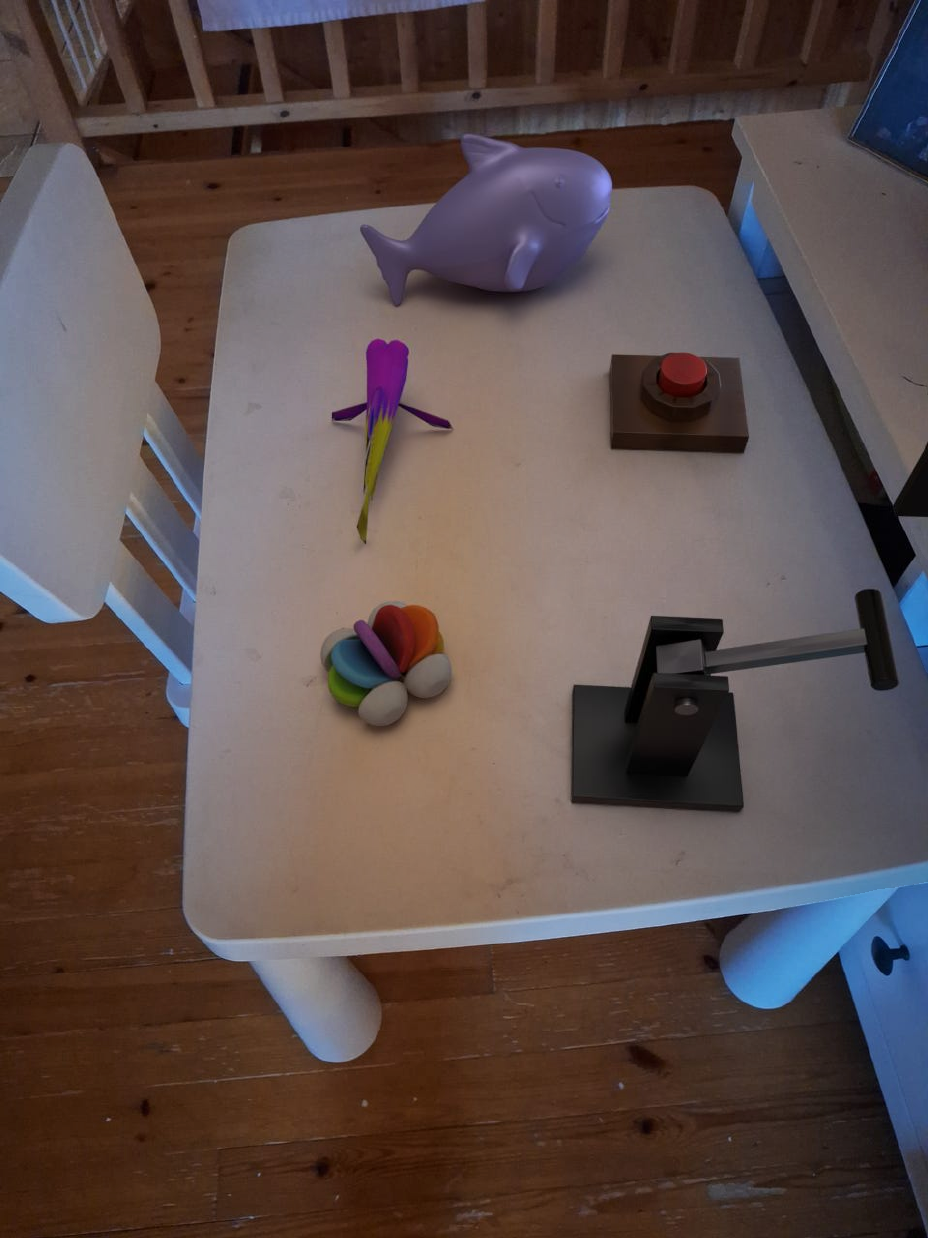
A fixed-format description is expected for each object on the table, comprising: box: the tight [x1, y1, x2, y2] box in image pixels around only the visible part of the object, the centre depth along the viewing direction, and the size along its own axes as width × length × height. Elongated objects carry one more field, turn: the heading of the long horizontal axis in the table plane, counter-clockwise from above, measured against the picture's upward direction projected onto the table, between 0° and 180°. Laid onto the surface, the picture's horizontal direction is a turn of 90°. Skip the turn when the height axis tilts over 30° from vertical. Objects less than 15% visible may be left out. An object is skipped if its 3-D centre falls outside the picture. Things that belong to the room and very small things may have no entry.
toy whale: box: [359, 133, 613, 307], centre depth 89 cm, size 14×25×16 cm, turn 101°
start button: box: [659, 352, 707, 398], centre depth 81 cm, size 4×4×2 cm
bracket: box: [570, 615, 745, 813], centre depth 61 cm, size 12×9×15 cm
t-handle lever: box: [656, 588, 900, 692], centre depth 54 cm, size 13×6×2 cm, turn 86°
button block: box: [608, 352, 750, 454], centre depth 83 cm, size 12×10×4 cm
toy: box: [330, 338, 454, 545], centre depth 79 cm, size 12×19×10 cm, turn 173°
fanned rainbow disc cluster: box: [319, 600, 453, 727], centre depth 68 cm, size 8×10×7 cm
